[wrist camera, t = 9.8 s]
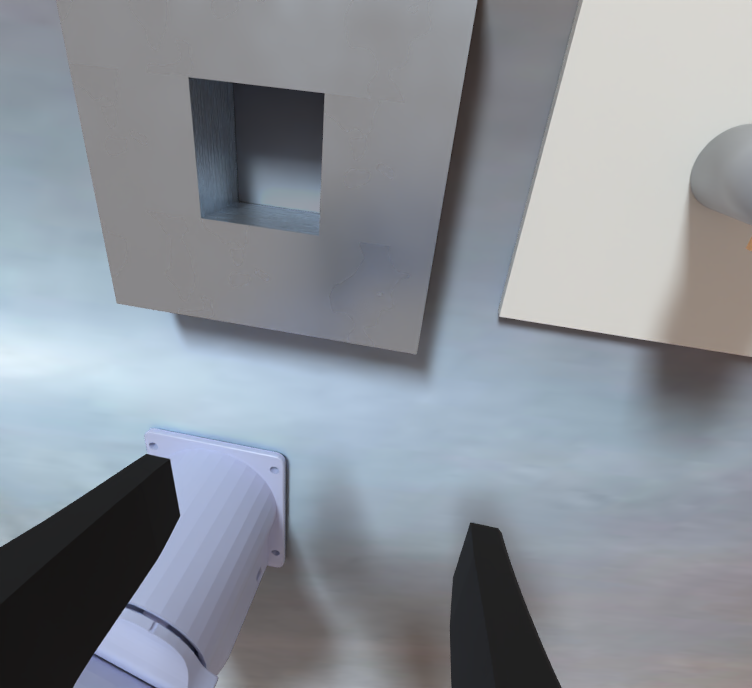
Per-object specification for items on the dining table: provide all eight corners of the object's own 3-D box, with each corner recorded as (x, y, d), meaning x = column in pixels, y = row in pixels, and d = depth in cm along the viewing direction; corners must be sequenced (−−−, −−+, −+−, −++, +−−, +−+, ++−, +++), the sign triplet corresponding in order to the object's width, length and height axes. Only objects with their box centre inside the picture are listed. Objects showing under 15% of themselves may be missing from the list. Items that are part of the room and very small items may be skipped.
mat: (809, 359, 17) (820, 368, 17) (498, 310, 18) (499, 316, 18) (1080, -38, 11) (1110, -45, 11) (599, -76, 12) (605, -84, 12)
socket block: (422, 320, 19) (416, 354, 16) (160, 277, 20) (116, 303, 18) (483, -39, 13) (489, -74, 11) (111, -72, 14) (33, -111, 12)
